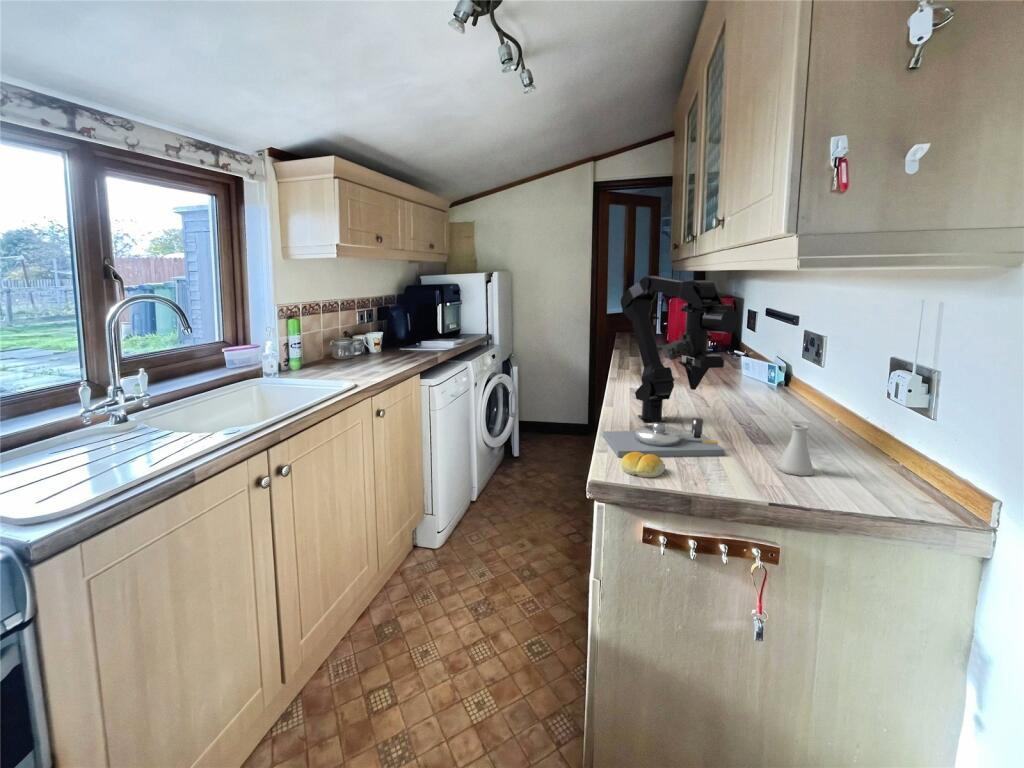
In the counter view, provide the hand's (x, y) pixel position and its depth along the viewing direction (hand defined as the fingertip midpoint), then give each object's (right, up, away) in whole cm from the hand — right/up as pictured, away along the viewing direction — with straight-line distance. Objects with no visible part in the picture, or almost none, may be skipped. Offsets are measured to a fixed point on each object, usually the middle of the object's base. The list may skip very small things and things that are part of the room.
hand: (693, 389), depth 134 cm
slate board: (-11, -14, -8) cm, 19 cm away
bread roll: (-20, -18, -24) cm, 36 cm away
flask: (+13, -17, -24) cm, 33 cm away
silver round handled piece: (-9, -12, -9) cm, 18 cm away
